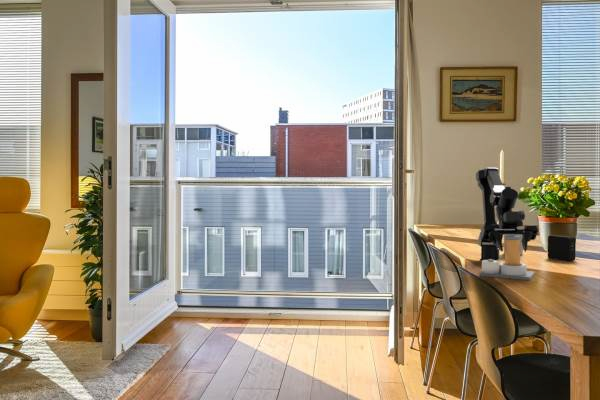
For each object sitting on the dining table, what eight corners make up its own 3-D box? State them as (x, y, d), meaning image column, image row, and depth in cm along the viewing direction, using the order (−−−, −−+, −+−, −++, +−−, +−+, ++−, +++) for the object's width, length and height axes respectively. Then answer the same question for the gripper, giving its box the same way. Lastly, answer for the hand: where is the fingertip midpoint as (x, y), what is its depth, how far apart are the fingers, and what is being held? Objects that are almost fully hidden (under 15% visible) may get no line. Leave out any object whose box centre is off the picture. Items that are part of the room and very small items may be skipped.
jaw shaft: (502, 272, 181) (501, 236, 180) (511, 270, 183) (510, 235, 183) (514, 274, 177) (513, 237, 176) (523, 272, 179) (522, 236, 178)
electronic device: (569, 261, 208) (569, 237, 208) (547, 258, 217) (547, 235, 217) (575, 260, 210) (575, 237, 210) (553, 257, 219) (554, 234, 219)
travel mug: (508, 252, 235) (508, 214, 234) (525, 254, 229) (525, 214, 228) (500, 254, 229) (501, 215, 228) (518, 256, 224) (518, 215, 223)
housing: (479, 275, 180) (479, 260, 179) (486, 270, 190) (487, 255, 190) (529, 280, 171) (530, 264, 171) (534, 274, 182) (534, 258, 181)
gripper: (483, 203, 184) (490, 236, 174) (537, 203, 181) (547, 237, 171) (478, 222, 192) (485, 255, 182) (529, 222, 190) (539, 256, 179)
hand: (513, 250), depth 178 cm, fingers open, 8 cm apart
